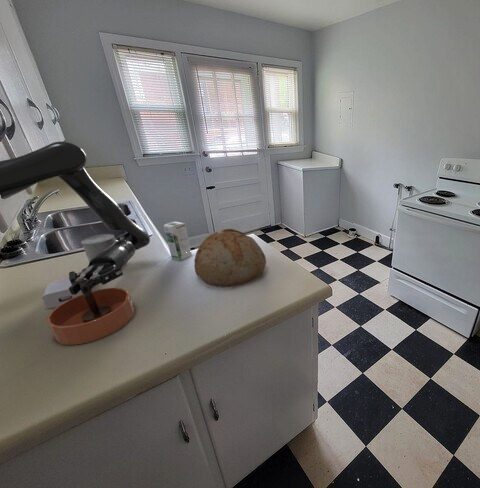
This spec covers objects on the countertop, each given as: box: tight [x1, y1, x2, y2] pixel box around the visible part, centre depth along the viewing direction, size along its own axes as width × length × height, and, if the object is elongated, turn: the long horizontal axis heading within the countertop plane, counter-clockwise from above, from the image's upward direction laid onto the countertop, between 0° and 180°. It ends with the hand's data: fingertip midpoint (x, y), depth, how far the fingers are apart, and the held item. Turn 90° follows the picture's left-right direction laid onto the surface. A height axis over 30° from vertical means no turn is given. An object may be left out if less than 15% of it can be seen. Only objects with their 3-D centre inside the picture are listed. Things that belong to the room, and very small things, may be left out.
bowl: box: [46, 287, 135, 346], centre depth 74 cm, size 17×17×6 cm
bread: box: [193, 228, 267, 288], centre depth 97 cm, size 26×23×15 cm
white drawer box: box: [41, 276, 83, 309], centre depth 87 cm, size 5×9×15 cm
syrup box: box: [163, 221, 193, 261], centre depth 109 cm, size 6×6×14 cm
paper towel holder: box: [78, 278, 112, 323], centre depth 73 cm, size 6×6×12 cm
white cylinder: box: [80, 233, 116, 263], centre depth 100 cm, size 10×10×12 cm
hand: (77, 291), depth 69 cm, fingers closed on paper towel holder
